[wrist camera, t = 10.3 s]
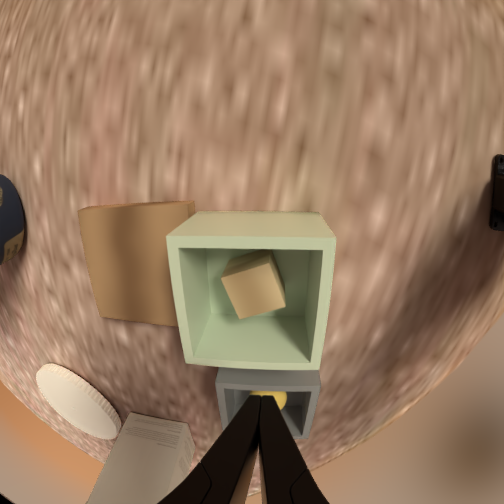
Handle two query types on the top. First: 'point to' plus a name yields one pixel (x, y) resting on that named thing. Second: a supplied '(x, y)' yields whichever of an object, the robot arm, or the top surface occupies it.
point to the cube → (254, 283)
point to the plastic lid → (78, 401)
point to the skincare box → (145, 462)
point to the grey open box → (291, 381)
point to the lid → (132, 258)
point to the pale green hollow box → (220, 306)
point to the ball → (279, 396)
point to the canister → (10, 220)
